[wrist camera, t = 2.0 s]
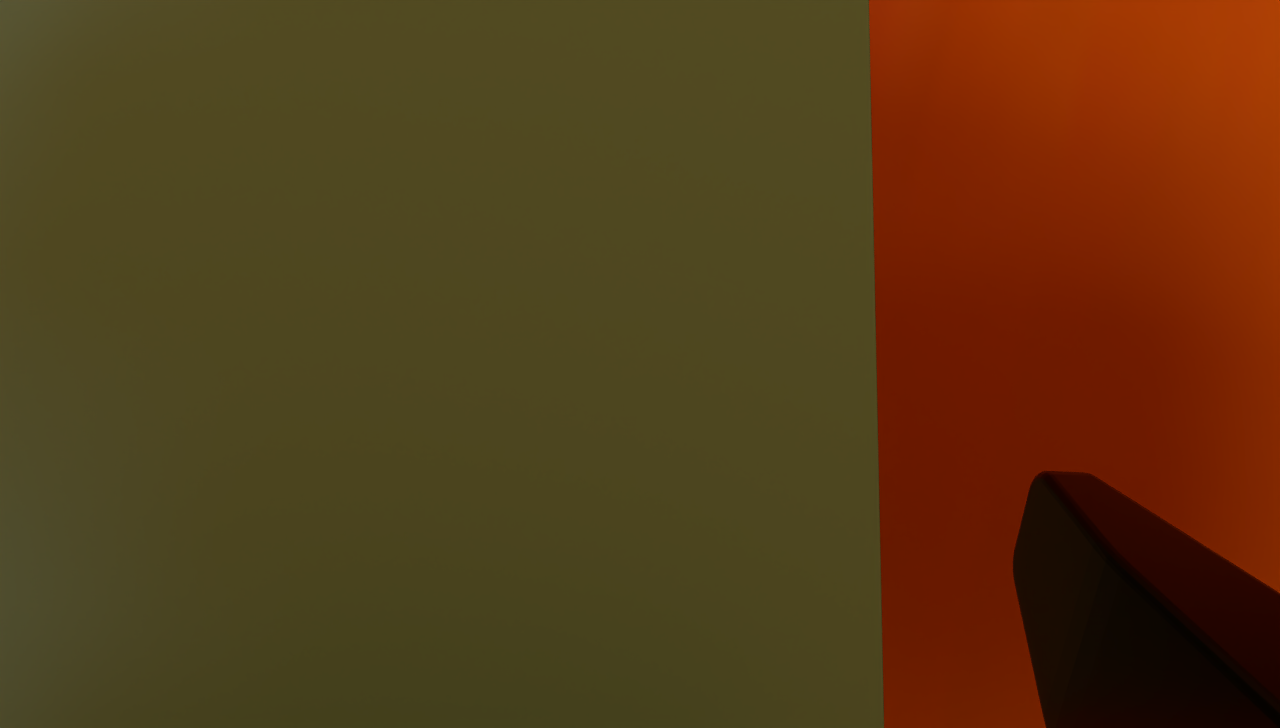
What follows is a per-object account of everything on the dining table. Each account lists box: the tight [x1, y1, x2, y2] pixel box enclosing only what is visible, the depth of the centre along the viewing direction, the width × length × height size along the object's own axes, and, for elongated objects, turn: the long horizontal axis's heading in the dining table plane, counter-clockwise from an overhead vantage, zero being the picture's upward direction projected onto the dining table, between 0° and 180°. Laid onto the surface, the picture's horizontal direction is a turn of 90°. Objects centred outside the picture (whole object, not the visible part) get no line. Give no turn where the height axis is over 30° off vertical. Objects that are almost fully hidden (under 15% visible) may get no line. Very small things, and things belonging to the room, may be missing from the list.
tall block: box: [0, 0, 884, 728], centre depth 11 cm, size 4×4×13 cm
